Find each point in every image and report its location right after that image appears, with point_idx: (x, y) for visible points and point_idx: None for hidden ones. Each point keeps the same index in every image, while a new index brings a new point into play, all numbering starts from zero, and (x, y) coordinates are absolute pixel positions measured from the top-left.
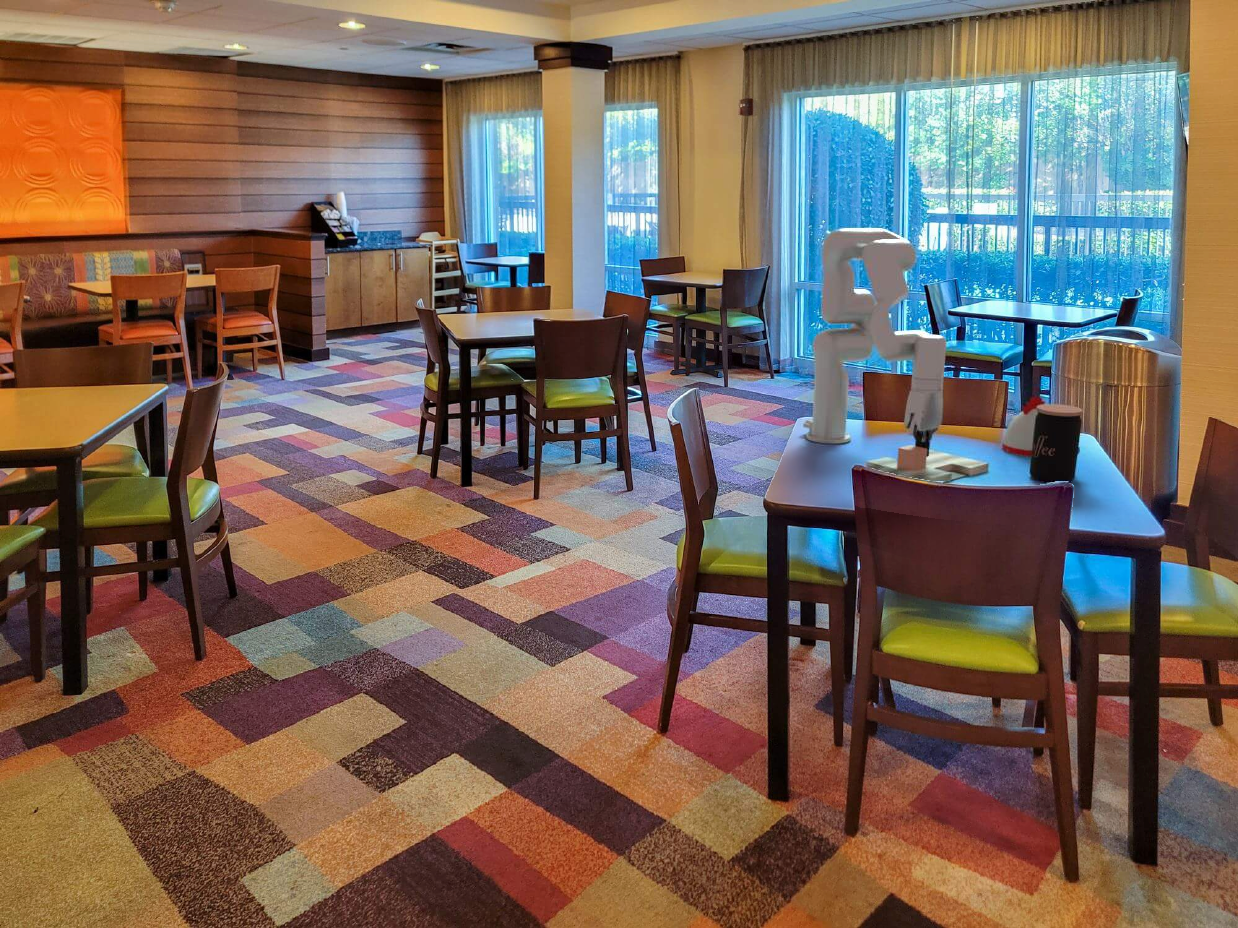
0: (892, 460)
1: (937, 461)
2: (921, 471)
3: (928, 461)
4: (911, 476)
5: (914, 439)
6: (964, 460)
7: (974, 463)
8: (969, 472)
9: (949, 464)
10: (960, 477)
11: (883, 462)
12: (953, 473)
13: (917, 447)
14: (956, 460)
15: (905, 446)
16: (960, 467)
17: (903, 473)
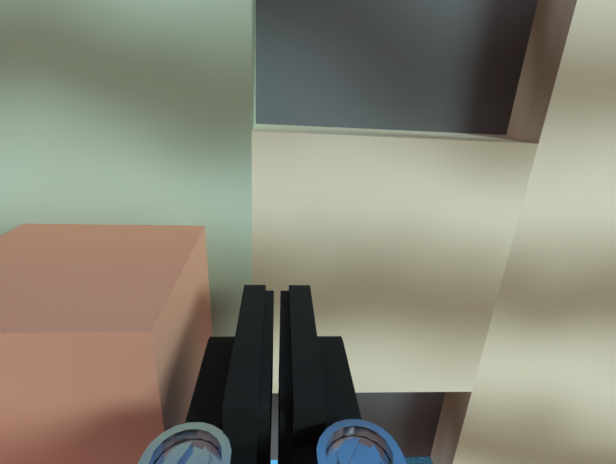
0: (180, 38)
1: (460, 310)
2: None
3: (410, 272)
4: None
5: (153, 442)
6: (607, 392)
7: (566, 456)
8: (435, 462)
9: (445, 389)
10: None
11: (23, 24)
12: (383, 406)
13: (119, 449)
14: (575, 367)
15: (7, 342)
16: (452, 432)
17: None
